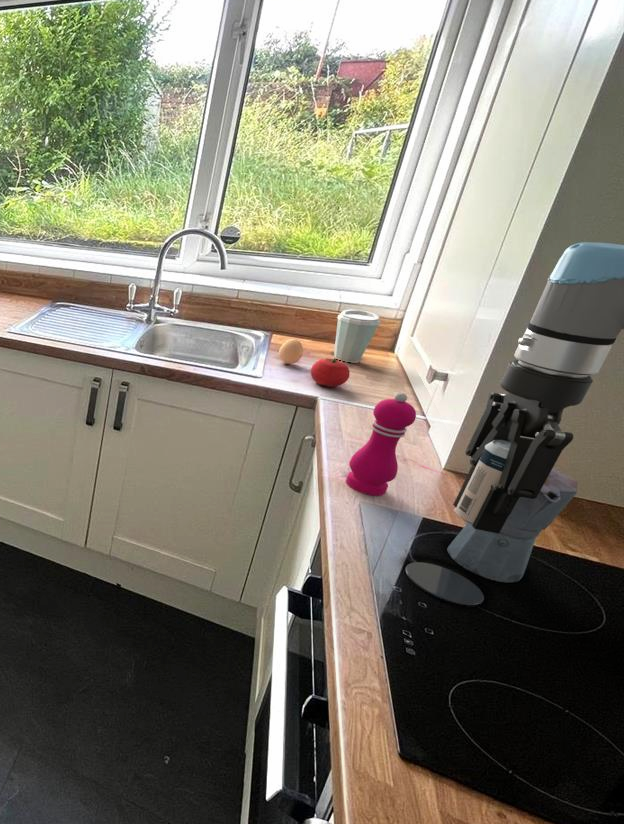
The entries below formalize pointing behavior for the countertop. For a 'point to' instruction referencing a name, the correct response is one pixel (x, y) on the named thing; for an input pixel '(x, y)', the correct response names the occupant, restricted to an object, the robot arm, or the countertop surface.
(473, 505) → the beer can
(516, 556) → the moka pot
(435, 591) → the slate coaster
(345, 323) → the disposable coffee cup
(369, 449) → the pepper mill
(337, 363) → the tomato
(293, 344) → the egg
